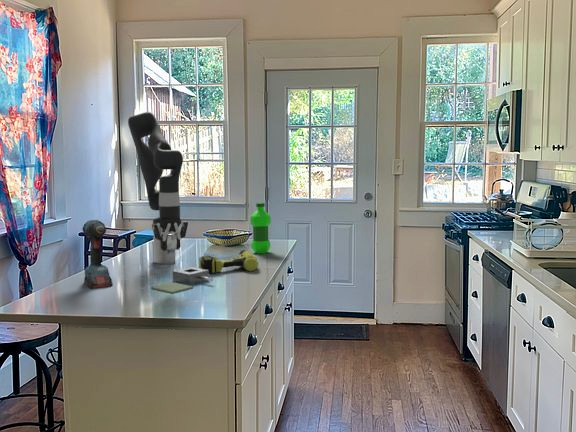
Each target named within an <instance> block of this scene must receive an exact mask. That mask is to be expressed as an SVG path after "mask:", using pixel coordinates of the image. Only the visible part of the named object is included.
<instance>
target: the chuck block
mask: <svg viewBox="0 0 576 432" xmlns="http://www.w3.org/2000/svg"><path fill="white" fill-rule="evenodd" d="M209 275H210V274H209V270H205V269H200V268H199V267H192V266H191V267H185V268H182V269H181V268H180V269H177V270H172V282H174V283H179V284H184V285H188V286H192V285H194V284H198V283H204V282H206V281H209V282H213V281H214V278H213V277H210V276H209Z"/></svg>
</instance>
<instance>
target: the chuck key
mask: <svg viewBox="0 0 576 432" xmlns="http://www.w3.org/2000/svg"><path fill="white" fill-rule="evenodd" d="M165 241H166V250H167V263H166V265H170V266H171V265H172V266H173V265H176V250H177V235H176V234H168V235H167V237H166V240H165Z"/></svg>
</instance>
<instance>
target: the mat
mask: <svg viewBox="0 0 576 432" xmlns="http://www.w3.org/2000/svg"><path fill="white" fill-rule="evenodd" d="M150 288H151V289H153V290H156V291H160V292H165V293H169V294H175V293H178V292H179V293H180V292H184V291H187V290H190V289H194V286H193V285H189V284H184V283H180V282H175V281H171V282H166V283H162V284H159V285H154V286H151V287H150Z"/></svg>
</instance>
